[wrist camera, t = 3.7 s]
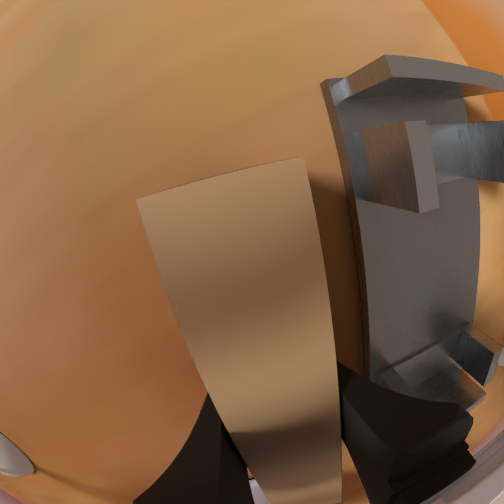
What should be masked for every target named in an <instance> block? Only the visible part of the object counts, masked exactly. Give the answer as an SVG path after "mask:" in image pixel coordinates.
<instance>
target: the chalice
mask: <svg viewBox="0 0 504 504" xmlns="http://www.w3.org/2000/svg"><path fill="white" fill-rule="evenodd" d="M498 366H504V346H503V348H502V351H501V355H500V358H499V361H498Z"/></svg>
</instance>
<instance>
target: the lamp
mask: <svg viewBox="0 0 504 504" xmlns="http://www.w3.org/2000/svg"><path fill="white" fill-rule="evenodd" d="M33 472H34V467H33V465H32V464H31V462H30V461H29V459H28V458H27V457H26V456H25V455H24V454H23V453H22V452H21V451H20V450H19V449H18V448H17V447H16V446H15V445H14V444H13V443H12V442H11V441H10V440H9V439H7V438H6V437H5V436H4V435H3V434H1V433H0V473H3V474H5V475H8V476H14V477H21V476H26V475H29V474H31V473H33Z"/></svg>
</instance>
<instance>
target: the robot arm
mask: <svg viewBox="0 0 504 504" xmlns="http://www.w3.org/2000/svg"><path fill="white" fill-rule="evenodd" d="M336 364H337V375H338V388H339V403H340V421H341V438H342V439H343V441H344V443H345V445H346V447H347V449H348V451H349V453H350V456H351V458H352V460H353V462H354V465H355V467H356V469H357V472H358V474H359V476H360V479H361V481H362V484H363V486H364V489H365V491H366V494H367V496H368V499H369V502H370V504H491V503H492V502H493V501H494V500H495V499H497V498H498V497H499V496H500V495H501V494H502V493H503V492H504V430H503V431H502V432H501V433H499V434H498V435H497V436H496V437H495V438H494V439H493V440H492V441H491V442H490V443H488V444H487V445H486V446H485V447H484V448H483V449H481V450H480V451H479V452H478V453H477V454H475V455H474V456H472V455H471V454H470V453H469V451H468V450H467V449H468V448H469V445H468V444H467V443H466V442H465V439H466V437H467V435H468V433H469V431H470V429H471V427H472V424H473V417H472V416H471V415H470V414H469V413H468V412H467V411H466V410H465V409H464V408H463V407H462V406H460V405H459V404H458V403H450V402H438V401H430V400H425V399H419V398H415V397H411V396H408V395H404V394H401V393H398V392H395V391H392V390H389V389H387V388H385V387H382V386H380V385H378V384H376V383H374V382H372V381H370V380H368V379H366V378H364V377H362V376H361V375H359V374H357V373H356V372H354V371H352V370H351V369H349V368H348V367H346V366H345V365H343V364H342V363H340V362H339V361H338V360H336ZM133 504H270V502H269V501H268V499H267V498H266V496H265V494H264V493H263V491H262V490H261V488H260V486H259V485H258V483H257V482H256V480H255V479H253V480H249V478H248V472H247V465H246V463H245V461H244V460H243V458H242V456H241V454H240V453H239V451H238V449H237V447H236V446H235V444H234V442H233V440H232V438H231V436H230V435H229V433H228V431H227V429H226V427H225V425H224V423H223V421H222V419H221V417H220V415H219V413H218V411H217V409H216V407H215V405H214V403H213V401H212V399H211V397H210V395H209V393H208V392H207V395H206V398H205V401H204V404H203V407H202V409H201V412H200V414H199V417H198V419H197V421H196V423H195V425H194V427H193V429H192V431H191V434H190V435H189V437H188V439H187V441H186V443H185V444H184V446H183V447H182V449H181V451H180V452H179V454H178V455H177V456H176V458H175V459H174V461H173V462H172V463H171V465H170V466H169V467H168V468H167V470H166V471H165V472H164V473H163V474H162V475H161V476H160V477H159V478H158V479H157V481H156V482H155V483H154V484H153V485H152V486H151V487H150V488H148V489H147V490H146V491H145V492H144V493H142V494H141V495H140V496H139V497H138V498H136V499H135V500H134V501H133Z"/></svg>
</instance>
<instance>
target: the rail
mask: <svg viewBox="0 0 504 504" xmlns="http://www.w3.org/2000/svg"><path fill="white" fill-rule="evenodd" d="M136 201H137V205H138V208H139V212H140V215H141V219H142V222H143V225H144V229H145V232H146V235H147V238H148V241H149V245H150V248H151V251H152V254H153V257H154V260H155V263H156V266H157V269H158V271H159V274H160V277H161V280H162V283H163V286H164V288H165V291H166V294H167V296H168V299H169V302H170V304H171V307H172V310H173V312H174V315H175V317H176V320H177V322H178V325H179V327H180V330H181V332H182V335H183V337H184V340H185V342H186V344H187V347H188V349H189V351H190V354H191V356H192V358H193V360H194V363H195V365H196V367H197V369H198V372H199V374H200V376H201V378H202V380H203V383H204V385H205V387H206V389H207V391H208V393H209V395H210V397H211V399H212V401H213V403H214V405H215V407H216V409H217V411H218V413H219V415H220V417H221V419H222V421H223V423H224V425H225V427H226V429H227V431H228V433H229V435H230V436H231V438H232V440H233V442H234V444H235V446H236V447H237V449H238V451H239V453H240V454H241V456H242V458H243V460H244V461H245V463H246V465H247V467H248V468H249V470H250V472H251V473H252V475H253V477H254V478H255V480H256V482H257V483H258V485H259V486H260V488H261V490H262V491H263V493H264V494H265V496H266V498H267V499H268V501H269V502H270V504H336V503H338V502H341V501H342V449H341V421H340V403H339V388H338V375H337V364H336V353H335V343H334V334H333V325H332V317H331V309H330V301H329V293H328V286H327V279H326V273H325V266H324V260H323V253H322V247H321V241H320V236H319V230H318V224H317V219H316V214H315V208H314V203H313V198H312V193H311V188H310V183H309V179H308V174H307V169H306V165H305V160H304V156H303V157H298V158H292V159H287V160H282V161H277V162H272V163H267V164H262V165H257V166H253V167H249V168H245V169H240V170H236V171H232V172H228V173H224V174H220V175H217V176H213V177H209V178H205V179H202V180H198V181H194V182H191V183H187V184H184V185H180V186H177V187H173V188H170V189H167V190H164V191H161V192H158V193H155V194H152V195H149V196H146V197H143V198H140V199H137V200H136Z"/></svg>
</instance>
